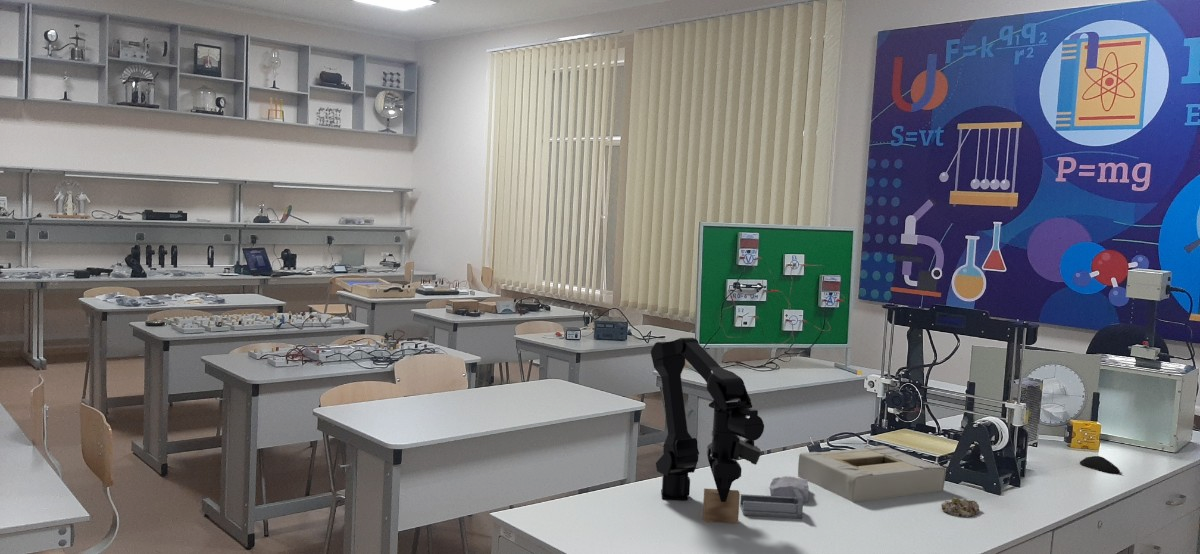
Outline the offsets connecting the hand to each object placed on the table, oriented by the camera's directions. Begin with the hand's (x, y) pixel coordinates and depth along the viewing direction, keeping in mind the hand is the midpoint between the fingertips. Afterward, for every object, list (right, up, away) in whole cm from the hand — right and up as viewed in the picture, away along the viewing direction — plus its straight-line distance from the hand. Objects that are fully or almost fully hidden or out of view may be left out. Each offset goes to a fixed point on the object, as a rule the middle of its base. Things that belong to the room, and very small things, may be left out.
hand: (721, 495), depth 205 cm
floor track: (+13, -6, +8) cm, 16 cm away
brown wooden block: (0, -6, 0) cm, 6 cm away
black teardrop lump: (+125, -8, +61) cm, 139 cm away
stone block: (+21, -6, +23) cm, 31 cm away
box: (+45, -6, +35) cm, 58 cm away
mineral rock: (+62, -8, +15) cm, 65 cm away
